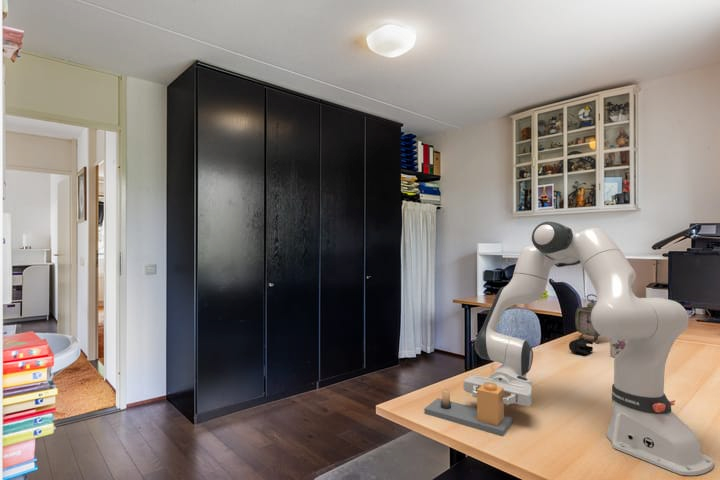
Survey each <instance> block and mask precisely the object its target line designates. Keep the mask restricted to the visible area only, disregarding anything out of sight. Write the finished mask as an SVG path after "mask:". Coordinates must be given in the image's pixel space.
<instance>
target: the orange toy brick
mask: <svg viewBox="0 0 720 480" xmlns="http://www.w3.org/2000/svg"><path fill="white" fill-rule="evenodd" d="M503 398H504V388H503V387H498V386H497V385H496V384H495V383H491V382H486V383H484V384H482V385H481V386H480V387H479V388H478V389H477V397H476V408H477V420H478V421H482V422H486V423H490V424H493V425H497V426H498V425H499V424H500V422H501V421H502V420H503V419H504V415H505V404H503Z"/></svg>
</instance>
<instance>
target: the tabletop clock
mask: <svg viewBox="0 0 720 480" xmlns="http://www.w3.org/2000/svg"><path fill="white" fill-rule="evenodd" d="M589 296H591V297H592V296H593V297H595V298H596V299H597V295H596V294H592V293H589V294H588V295H587V296H586V299H587V301H588V302H589V303H587V305H586V306H582V307H577V308H576V310H575V313H574V314H575V315H574V322H575V329H576V331H577V332H578V333H580V335H579V336H578V339H579V338H582V337H583V335H585V336H589V337H593V341H595V344H599V343H600V341H599V337H600V336H601V335H600V334H598V333H597V331H596V330H595V329H594V327H593V325H592V322H591V312H592V309H593V307H594V306H595V305H596V302H597V300H594V299H591V300H590V299H589ZM601 337H602V336H601Z"/></svg>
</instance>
